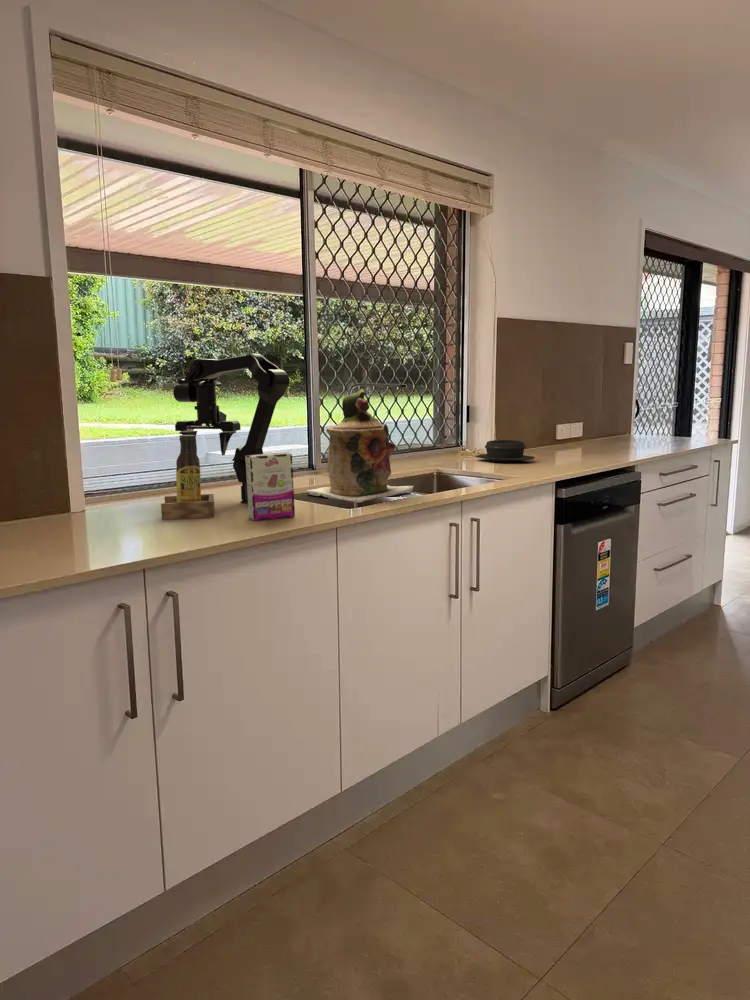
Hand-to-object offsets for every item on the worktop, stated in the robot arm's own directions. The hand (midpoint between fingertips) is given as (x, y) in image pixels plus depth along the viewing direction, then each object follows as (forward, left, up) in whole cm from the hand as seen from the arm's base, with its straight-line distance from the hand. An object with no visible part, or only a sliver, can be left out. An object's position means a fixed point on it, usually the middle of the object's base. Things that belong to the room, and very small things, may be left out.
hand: (209, 455), depth 210 cm
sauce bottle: (-6, +24, -12) cm, 28 cm away
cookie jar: (-42, -15, -13) cm, 47 cm away
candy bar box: (-30, +25, -13) cm, 41 cm away
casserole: (-79, -107, -13) cm, 134 cm away
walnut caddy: (-6, +24, -13) cm, 28 cm away
